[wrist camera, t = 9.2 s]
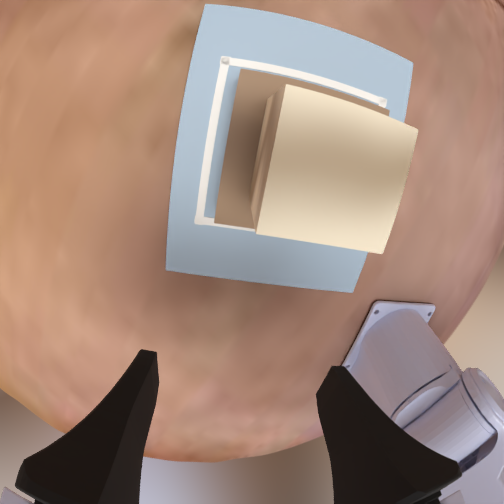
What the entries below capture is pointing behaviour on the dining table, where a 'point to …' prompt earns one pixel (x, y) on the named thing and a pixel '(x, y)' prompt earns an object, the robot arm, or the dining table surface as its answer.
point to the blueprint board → (216, 132)
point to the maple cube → (329, 171)
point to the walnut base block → (254, 140)
